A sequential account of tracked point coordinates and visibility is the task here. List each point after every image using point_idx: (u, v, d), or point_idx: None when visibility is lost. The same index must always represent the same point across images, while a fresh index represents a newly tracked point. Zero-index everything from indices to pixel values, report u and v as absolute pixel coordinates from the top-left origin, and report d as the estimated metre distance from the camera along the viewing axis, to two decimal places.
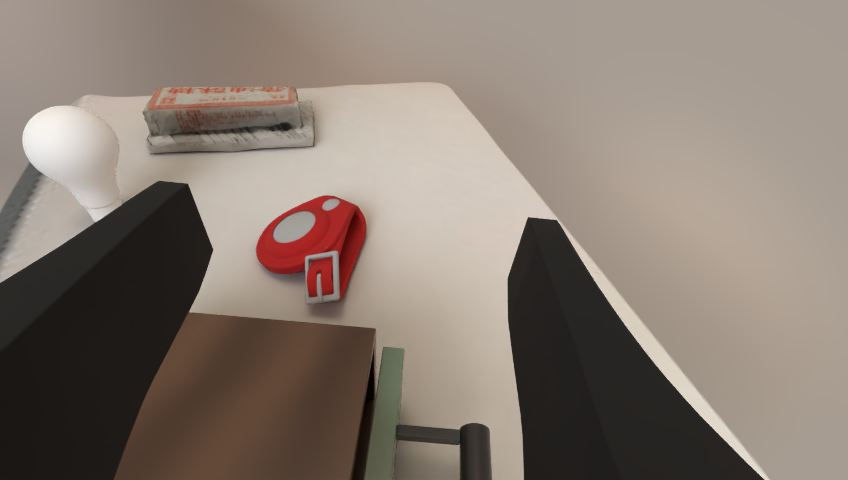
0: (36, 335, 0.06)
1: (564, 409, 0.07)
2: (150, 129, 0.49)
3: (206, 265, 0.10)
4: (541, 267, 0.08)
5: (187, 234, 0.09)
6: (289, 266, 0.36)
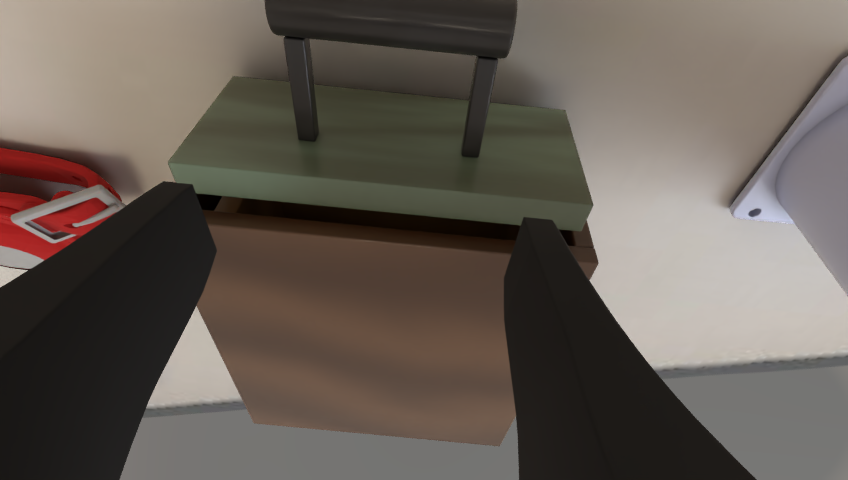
0: (43, 336, 0.06)
1: (558, 408, 0.07)
2: None
3: (210, 265, 0.10)
4: (536, 267, 0.08)
5: (192, 235, 0.09)
6: None
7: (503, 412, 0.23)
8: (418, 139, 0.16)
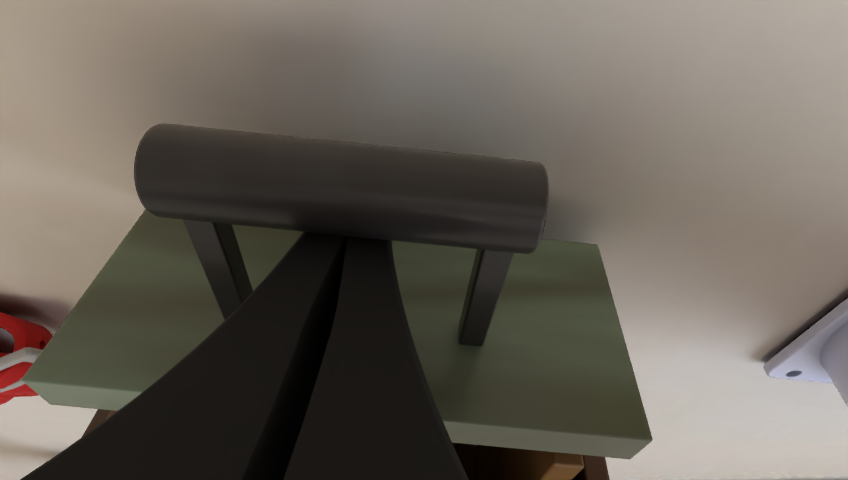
0: (294, 359, 0.06)
1: None
2: None
3: None
4: (347, 248, 0.08)
5: None
6: None
7: None
8: None
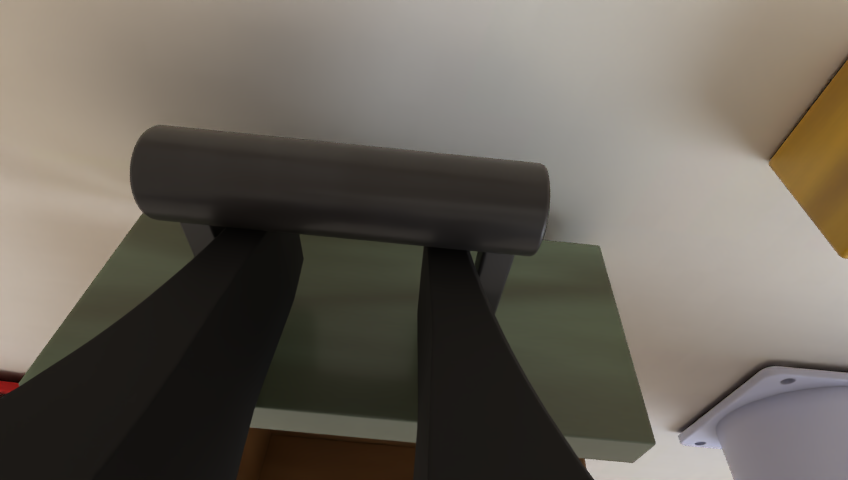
0: (194, 350, 0.06)
1: (425, 396, 0.07)
2: None
3: (299, 274, 0.10)
4: (426, 256, 0.08)
5: (290, 244, 0.09)
6: None
7: None
8: (398, 316, 0.11)
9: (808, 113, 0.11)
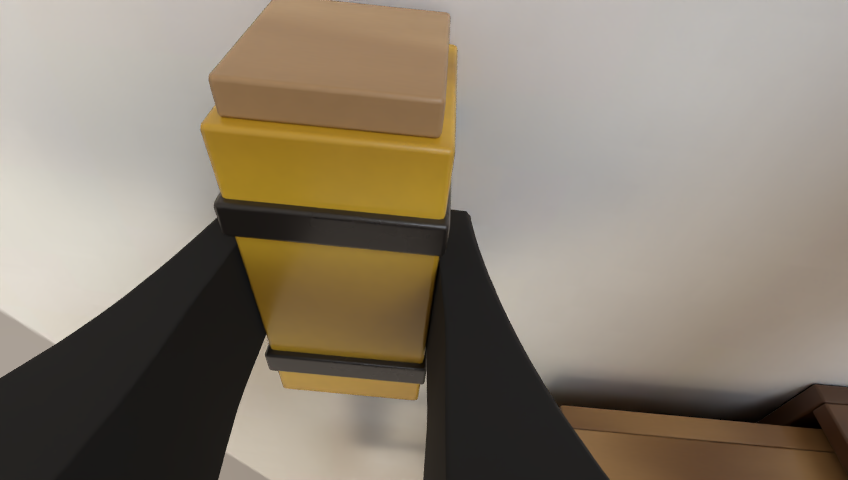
0: (171, 348, 0.06)
1: (438, 397, 0.07)
2: None
3: None
4: None
5: None
6: None
7: None
8: None
9: None
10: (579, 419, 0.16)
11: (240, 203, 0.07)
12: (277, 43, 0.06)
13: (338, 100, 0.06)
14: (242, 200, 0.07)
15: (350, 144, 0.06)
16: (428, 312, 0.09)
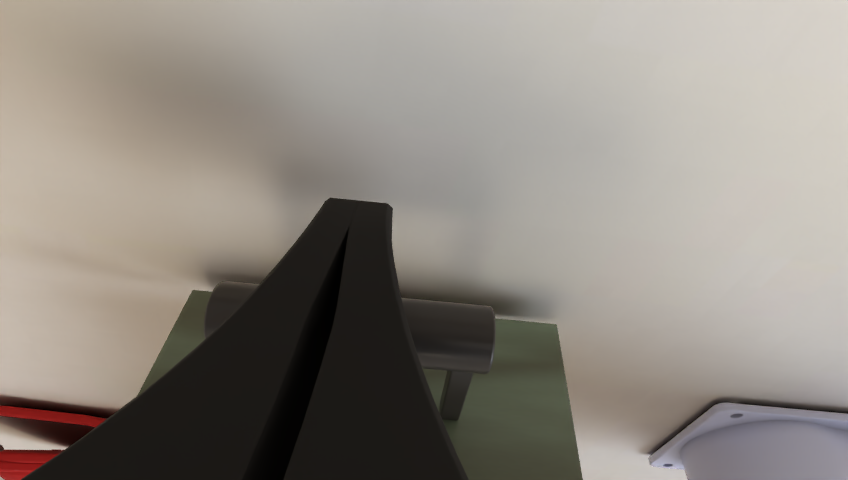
0: (295, 359, 0.06)
1: None
2: None
3: None
4: (347, 248, 0.08)
5: None
6: None
7: None
8: None
9: None
10: None
11: None
12: None
13: None
14: None
15: None
16: None
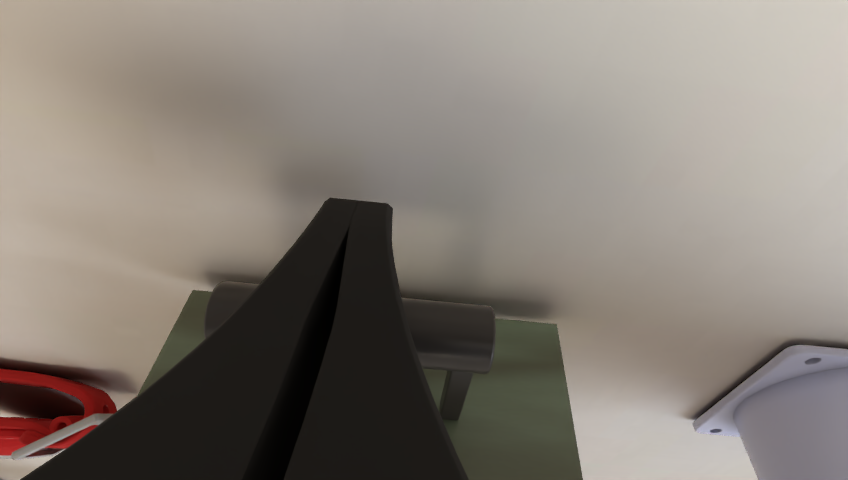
0: (294, 359, 0.06)
1: None
2: None
3: None
4: (347, 248, 0.08)
5: None
6: None
7: None
8: None
9: None
10: None
11: None
12: None
13: None
14: None
15: None
16: None
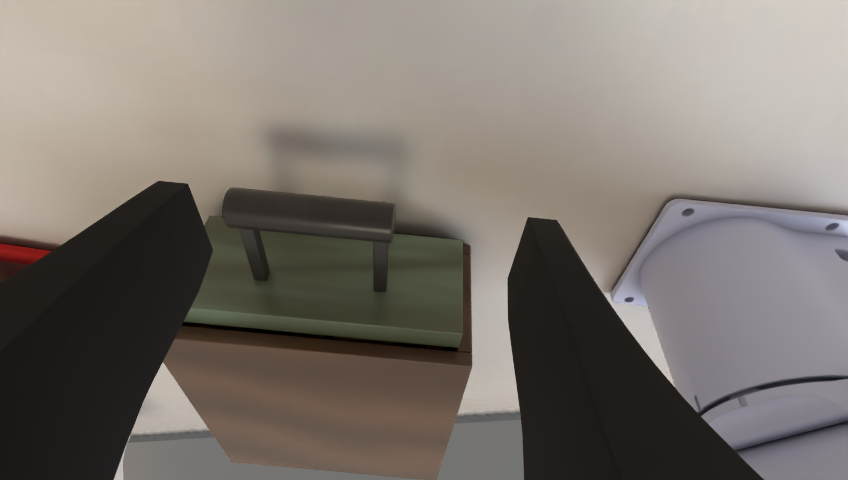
0: (36, 335, 0.06)
1: (564, 409, 0.07)
2: None
3: (206, 265, 0.10)
4: (541, 267, 0.08)
5: (187, 234, 0.09)
6: None
7: (432, 457, 0.28)
8: (343, 276, 0.21)
9: None
10: None
11: None
12: None
13: None
14: (336, 338, 0.23)
15: None
16: None
